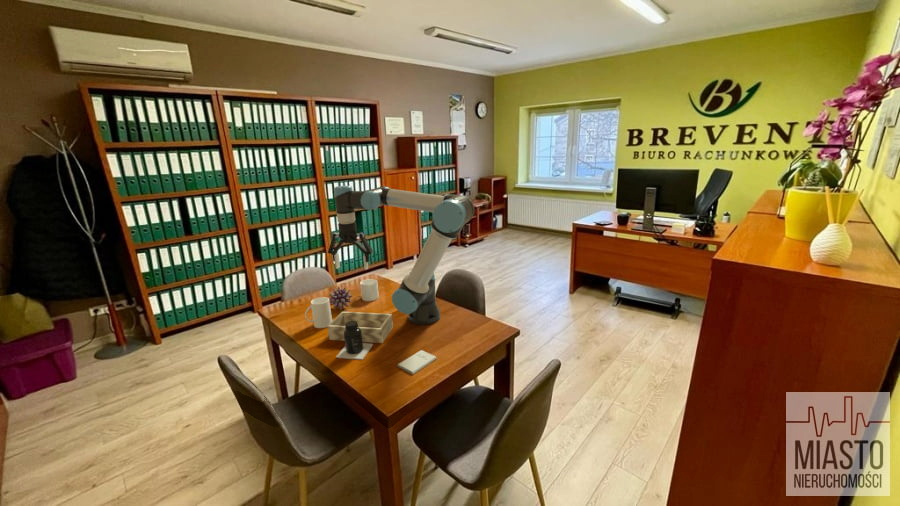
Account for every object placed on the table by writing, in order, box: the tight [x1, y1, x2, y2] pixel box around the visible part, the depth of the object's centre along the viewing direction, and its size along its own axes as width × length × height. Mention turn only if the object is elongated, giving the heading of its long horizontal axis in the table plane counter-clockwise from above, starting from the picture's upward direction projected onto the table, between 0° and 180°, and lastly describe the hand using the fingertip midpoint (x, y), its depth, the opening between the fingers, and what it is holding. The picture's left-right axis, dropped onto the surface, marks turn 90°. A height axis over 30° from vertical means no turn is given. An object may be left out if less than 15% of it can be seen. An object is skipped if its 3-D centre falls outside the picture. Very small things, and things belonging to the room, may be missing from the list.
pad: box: [335, 342, 374, 361], centre depth 145 cm, size 11×11×1 cm
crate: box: [326, 311, 394, 344], centre depth 158 cm, size 24×14×6 cm, turn 80°
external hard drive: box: [397, 349, 437, 375], centre depth 136 cm, size 2×8×12 cm
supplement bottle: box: [344, 321, 364, 354], centre depth 143 cm, size 7×7×12 cm
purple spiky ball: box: [328, 285, 353, 310], centre depth 182 cm, size 12×12×12 cm
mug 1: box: [304, 296, 333, 329], centre depth 166 cm, size 12×8×12 cm
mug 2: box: [359, 278, 380, 302], centre depth 195 cm, size 12×9×9 cm
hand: (352, 268), depth 161 cm, fingers open, 13 cm apart
